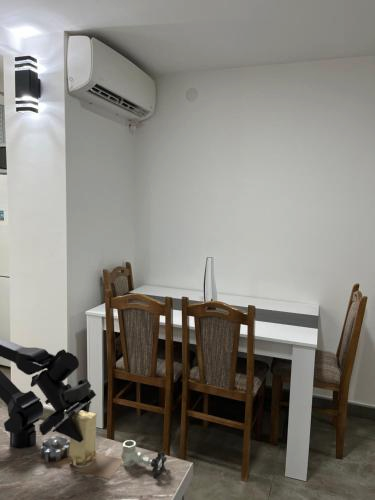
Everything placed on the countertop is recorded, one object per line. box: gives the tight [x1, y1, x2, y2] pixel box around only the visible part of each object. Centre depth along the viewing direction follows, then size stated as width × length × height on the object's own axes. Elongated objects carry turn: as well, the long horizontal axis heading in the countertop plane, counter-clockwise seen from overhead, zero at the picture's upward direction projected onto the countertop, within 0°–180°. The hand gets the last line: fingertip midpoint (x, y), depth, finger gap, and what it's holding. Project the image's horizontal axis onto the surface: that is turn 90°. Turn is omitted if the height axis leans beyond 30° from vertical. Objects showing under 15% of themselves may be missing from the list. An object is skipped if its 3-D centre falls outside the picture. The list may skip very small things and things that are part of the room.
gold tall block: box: [69, 410, 97, 466], centre depth 107 cm, size 7×7×12 cm
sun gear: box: [39, 435, 70, 464], centre depth 109 cm, size 8×8×4 cm
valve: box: [120, 439, 168, 480], centre depth 105 cm, size 7×7×12 cm
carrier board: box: [32, 453, 123, 480], centre depth 107 cm, size 24×9×1 cm, turn 73°
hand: (87, 436), depth 106 cm, fingers closed on gold tall block, 5 cm apart
